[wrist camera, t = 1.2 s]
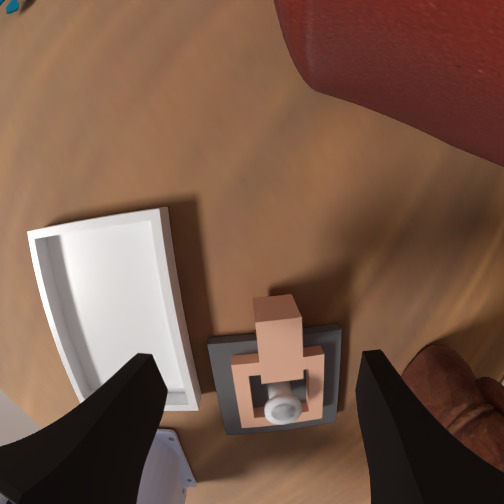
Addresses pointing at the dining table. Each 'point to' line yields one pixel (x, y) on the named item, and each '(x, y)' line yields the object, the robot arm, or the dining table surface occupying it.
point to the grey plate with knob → (278, 393)
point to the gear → (11, 6)
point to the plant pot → (408, 62)
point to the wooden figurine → (460, 400)
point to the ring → (278, 360)
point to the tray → (116, 300)
